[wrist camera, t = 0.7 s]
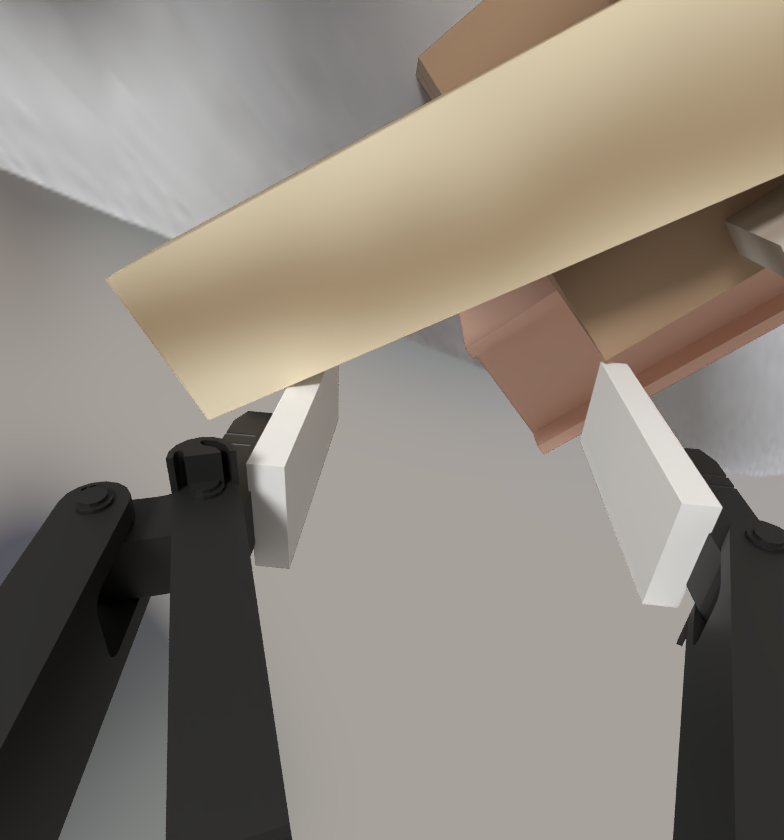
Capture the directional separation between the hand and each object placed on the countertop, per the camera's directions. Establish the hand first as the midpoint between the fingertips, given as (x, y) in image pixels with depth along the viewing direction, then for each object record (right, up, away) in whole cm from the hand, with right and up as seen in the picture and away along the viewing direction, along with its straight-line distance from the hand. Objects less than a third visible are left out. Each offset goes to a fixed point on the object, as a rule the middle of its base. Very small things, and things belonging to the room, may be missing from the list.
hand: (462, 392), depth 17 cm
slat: (+2, +6, -4) cm, 7 cm away
